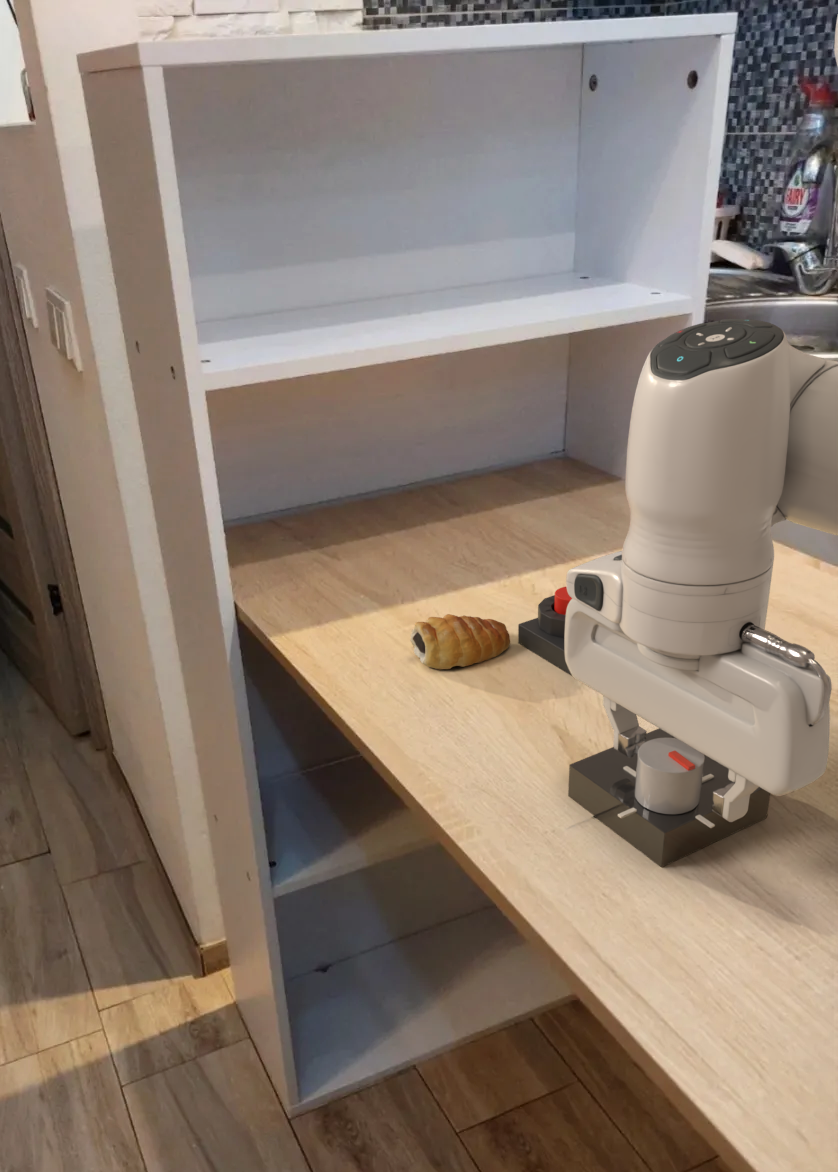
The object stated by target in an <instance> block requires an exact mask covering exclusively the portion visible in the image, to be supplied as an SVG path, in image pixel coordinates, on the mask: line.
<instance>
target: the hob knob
mask: <svg viewBox="0 0 838 1172" xmlns="http://www.w3.org/2000/svg"><path fill="white" fill-rule="evenodd" d="M704 760H705V757H704V754H703V753H701V752H699V751H697V750H696V749H694V748H692V747H691V746H689V745H687V744H685V743H684V742H682V741H680V740H679V739H677V738H657V739H652V740H649V741H647V742H645V743H644V744H642V745H641V746H640V748H639V750H638V756H637V768H636V781H635V797H636V799H637V801H638V802H639V803H640V804H641V805H642V806H644V807H645V808H647V809H649V810H651V811H654V812H657V813H662V814H682V813H686V812H689V811H691V810H693V809H694V808H695V807H696V806H697V805H698V803H699V801H700V794H701V785H702V777H703V769H704Z"/></svg>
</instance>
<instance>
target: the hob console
mask: <svg viewBox="0 0 838 1172" xmlns="http://www.w3.org/2000/svg"><path fill="white" fill-rule="evenodd" d="M657 738H675V737H674V736H672V735H670V734H668V733H667V732H665V731H663V730H662V729H660V728H657V729H654V730H652V731H649V732H646V739H645V742H647V741H649V740H652V739H657ZM637 756H638V754H634V756H633V757H627V756H626V755H624V754H622V753H621V752H619V751H618V750H616V749H614V747H613V746H612V747H610V748H606V749H605V750H602V751H599V752H597V753H595V754H592V755H589V756H587V757H585V758H582V759H580V760H577V761H575V762H573V763H570V764H569V766H568V770H569V771H568V788H567V789H568V791H567V795H568V797H569V798H570V799H571V800H572V801H574V802H576V803H577V804H578V805H579V806H581V807H582V808H583V809H584V810H585V811H588V812H589V813H590V814H591V815H593V818H595V819H596V820H598V821H599V822H601V823H602V824H603V825H605V826H606V827H607V828H609V829H610V830H611V831H612V832H614V833H615V834H616V835H618V836H619V837H620V838H622V839H623V840H624V841H626V842H627V843H628V844H630V845H631V846H632V847H633V848H635V849H636V850H637V851H639V852H640V853H642V854H643V855H644V856H645V857H647V858H648V859H650V860H651V861H652V862H653V863H655V864H656V865H657V866H659V867H660V868H663V867H666V866H668V865H669V864H672V863H673V862H676V861H679V860H680V859H683V858H684V857H686V856H687V857H688V856H689V855H690V854H693V853H695V852H698V851H699V850H701V849H703V848H705V847H708V846H710V845H712V844H714V843H716V842H718V841H721V840H723V839H725V838H727V837H729V836H731V835H733V834H736V833H737V832H740V831H742V830H744V829H746V828H748V827H750V826H753V825H754V824H757V823H759V822H761V821H763V820H765V819H767V818H768V812H769V806H770V800H771V795H772V794H771V793H769V792H767V791H766V790H764V789H762V788H760V787H758V788H757V789H756V790H755V791H754V792H753V793H751V794H750V798H749V805H748V811H747V813H746V814H745V815H744V816H743V817H741V818H739V819H737V820H735V821H733V822H729V821H727V820H726V819H724V818H723V817H721V816H720V815H718V814H717V813H715V812H714V811H712V805H713V804H714V803H713V800H712V799H713V792H714V791H716V790H718V789H720V788H725V787H726V786H727V785H729V784H731V783H735V782H732V781H731V780H729V778H728V773H729V769H728V768H726V767H725V766H723V765H721V764H720V763H718V762H716V761H714V760H713V759H711V758H709V757H708V756H706V755H704V757H705V760H704V769H703V777H702V785H701V794H700V801H699V803H698V805H697V806H696V807H695V808H694V809H693V810H691V811H689V812H686V813H682V814H662V813H657V812H654V811H651V810H649V809H647V808H645V807H644V806H642V805H641V804H640V803H639V802H638V801H637V799H636V797H635V781H636V768H637Z"/></svg>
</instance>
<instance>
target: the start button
mask: <svg viewBox="0 0 838 1172" xmlns="http://www.w3.org/2000/svg"><path fill="white" fill-rule="evenodd" d="M554 595H555V604H554V610H555V612H556V613H558V614H563V615H566V610H567V606H568V604H569V602H570V600H571V599H572V598H571V597H570V596H569V594H568V592H567V587H566V586H562V587H559V588H557V589H556V590H555V591H554Z"/></svg>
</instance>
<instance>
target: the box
mask: <svg viewBox="0 0 838 1172" xmlns="http://www.w3.org/2000/svg"><path fill="white" fill-rule="evenodd" d="M554 604H555V594H554V595H551V596H548V597H545V598H543V599H542V600H541V602H540V603H538V605H537V617H536V618H533V619H530V620H526V621H524V622H521V623H519V624H518V625H517V626H518V627H517V633H518V634H517V643H518V645H520V646H522V647H524V648H525V649H527V650H529V651H530V652H531V653H533V654H534V655H536V656H538V657H540V658H542V659H543V660H545V661H546V662H548V663H550V664H551V665H553V666H555V667H556V668H558V669H560V670H561V671H563V672H564V673H566V674H568V675H569V676H571V677H573V676H572V674H571V673H570V670H569V668H568V666H567V664H566V661H565V650H564V634H565V617H566V615H563V614H558V613H556V612H555V610H554Z"/></svg>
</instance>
